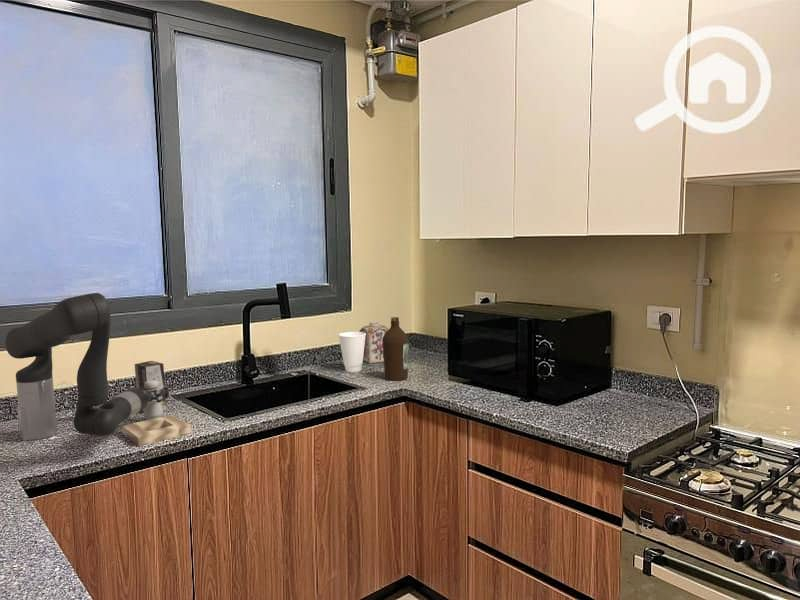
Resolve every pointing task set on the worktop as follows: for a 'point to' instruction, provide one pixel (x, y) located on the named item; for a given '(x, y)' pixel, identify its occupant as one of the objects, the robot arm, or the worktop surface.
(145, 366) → the coffee box
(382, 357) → the decorative jar
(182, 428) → the bore housing
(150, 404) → the salt shaker
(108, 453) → the worktop surface
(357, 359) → the cup
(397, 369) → the olive oil
